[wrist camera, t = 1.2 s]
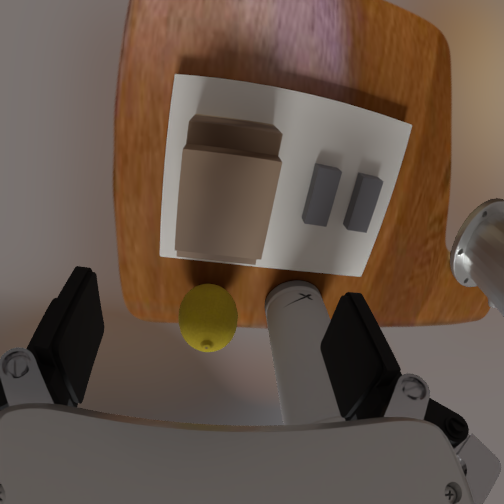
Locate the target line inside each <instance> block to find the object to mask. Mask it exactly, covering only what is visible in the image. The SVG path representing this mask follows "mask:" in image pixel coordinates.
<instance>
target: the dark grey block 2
mask: <svg viewBox="0 0 504 504" xmlns="http://www.w3.org/2000/svg"><path fill="white" fill-rule="evenodd" d="M383 182H384V181H382V180H381V179H380V178H379V177H376V176H372V175H368V174H363V173H359V172H358V175H357V179H356V182H355V186H354V189H353V192H352V196H351V199H350V202H349V206H348V209H347V212H346V215H345V218H344V222H343V225H344V226H345V228H346V229H347V230H351V231H358V232H364V233H367V230H368V227H369V224H370V221H371V219H372V216H373V213H374V210H375V207H376V204H377V201H378V198H379V195H380V191H381V188H382V185H383Z"/></svg>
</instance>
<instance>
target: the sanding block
mask: <svg viewBox="0 0 504 504" xmlns="http://www.w3.org/2000/svg"><path fill="white" fill-rule="evenodd" d="M282 136H283V134H282V133H281V132H280V131H279V130H278V129H277V128H276V127H275V126H274V125H273V124H268V123H262V122H255V121H249V120H242V119H235V118H228V117H220V116H212V115H203V114H195V115H194V116H193V117H192V118H191V119H190V120H189V124H188V132H187V140H186V145H185V146H184V148H183V152H182V161H181V171H180V182H179V193H178V205H177V218H176V233H175V250H177V257H186V258H195V259H205V260H214V261H223V262H233V263H242V264H252V265H256V260H257V259H260V260H261V258H262V254H263V249H264V245H265V240H266V236H267V231H268V226H269V222H270V217H271V213H272V208H273V203H274V199H275V194H276V190H277V185H278V180H279V176H280V171H281V166H282V161H281V159H280V158H279V156H278V155H279V150H280V145H281V141H282Z"/></svg>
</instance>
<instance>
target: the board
mask: <svg viewBox="0 0 504 504" xmlns="http://www.w3.org/2000/svg"><path fill="white" fill-rule="evenodd" d="M195 114H203V115H212V116H220V117H228V118H235V119H242V120H249V121H255V122H262V123H268V124H273V125H274V126H275V127H276V128H277V129H278V130H279V131H280V132H281V133H282V134H283V136H282V141H281V145H280V150H279V155H278V156H279V158H280V159H281V161H282V166H281V171H280V176H279V180H278V185H277V190H276V194H275V199H274V203H273V208H272V213H271V217H270V222H269V226H268V231H267V236H266V240H265V245H264V249H263V254H262V258H261V260H260V259H257V260H256V265H252V264H242V263H233V262H223V261H214V260H205V259H195V258H186V257H177V250H175V233H176V218H177V205H178V193H179V182H180V171H181V161H182V152H183V148H184V146H185V145H186V140H187V132H188V124H189V120H190V119H191V118H192V117H193V116H194V115H195ZM411 128H412V125H411V124H408V123H405V122H402V121H400V120H397V119H394V118H391V117H388V116H385V115H382V114H379V113H376V112H373V111H370V110H366V109H363V108H360V107H357V106H353V105H350V104H346V103H342V102H339V101H335V100H331V99H327V98H324V97H319V96H315V95H311V94H307V93H302V92H298V91H293V90H288V89H284V88H278V87H273V86H268V85H262V84H256V83H250V82H244V81H237V80H230V79H222V78H213V77H204V76H194V75H182V74H175V78H174V85H173V92H172V99H171V107H170V115H169V124H168V133H167V143H166V153H165V165H164V177H163V192H162V209H161V232H160V256H162V257H171V258H180V259H189V260H198V261H208V262H217V263H226V264H236V265H245V266H255V267H265V268H275V269H285V270H295V271H305V272H316V273H326V274H337V275H347V276H358V277H361V276H362V273H363V271H364V268H365V266H366V263H367V261H368V258H369V256H370V253H371V251H372V248H373V245H374V243H375V240H376V238H377V235H378V232H379V229H380V227H381V224H382V221H383V218H384V215H385V213H386V210H387V207H388V204H389V201H390V198H391V195H392V192H393V189H394V186H395V183H396V180H397V176H398V173H399V170H400V167H401V163H402V160H403V157H404V153H405V150H406V146H407V143H408V139H409V136H410V132H411ZM315 163H317V164H322V165H327V166H332V167H337V168H338V169H339V170H341V171H342V174H341V178H340V182H339V185H338V189H337V192H336V196H335V199H334V203H333V206H332V210H331V213H330V216H329V220H328V223H327V226H326V227H324V226H318V225H310V224H304V222H303V220H302V218H301V217H302V214H303V210H304V206H305V202H306V198H307V194H308V190H309V186H310V182H311V178H312V174H313V170H314V166H315ZM358 172H359V173H363V174H368V175H372V176H376V177H379V178H380V179H381V180H382V181H384V182H383V185H382V188H381V191H380V195H379V198H378V201H377V204H376V207H375V210H374V213H373V216H372V219H371V221H370V224H369V227H368V230H367V233H364V232H358V231H351V230H347V229H346V228H345V226H344V225H343V222H344V218H345V215H346V212H347V209H348V206H349V202H350V199H351V196H352V192H353V189H354V186H355V182H356V179H357V175H358Z"/></svg>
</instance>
